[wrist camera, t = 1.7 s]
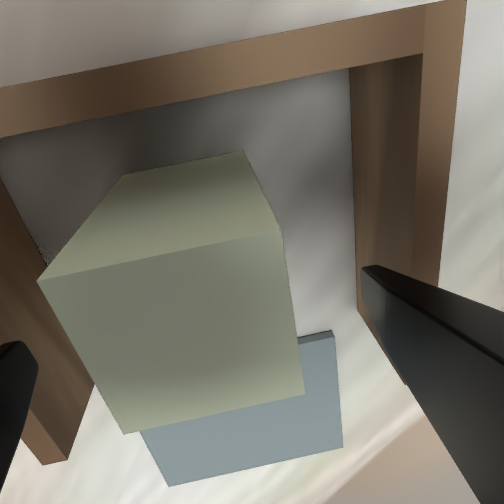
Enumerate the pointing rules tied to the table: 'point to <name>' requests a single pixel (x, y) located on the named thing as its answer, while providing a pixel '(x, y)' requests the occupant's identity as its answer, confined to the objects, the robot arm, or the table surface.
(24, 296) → the open frame
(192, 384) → the block
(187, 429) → the mat
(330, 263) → the table surface
